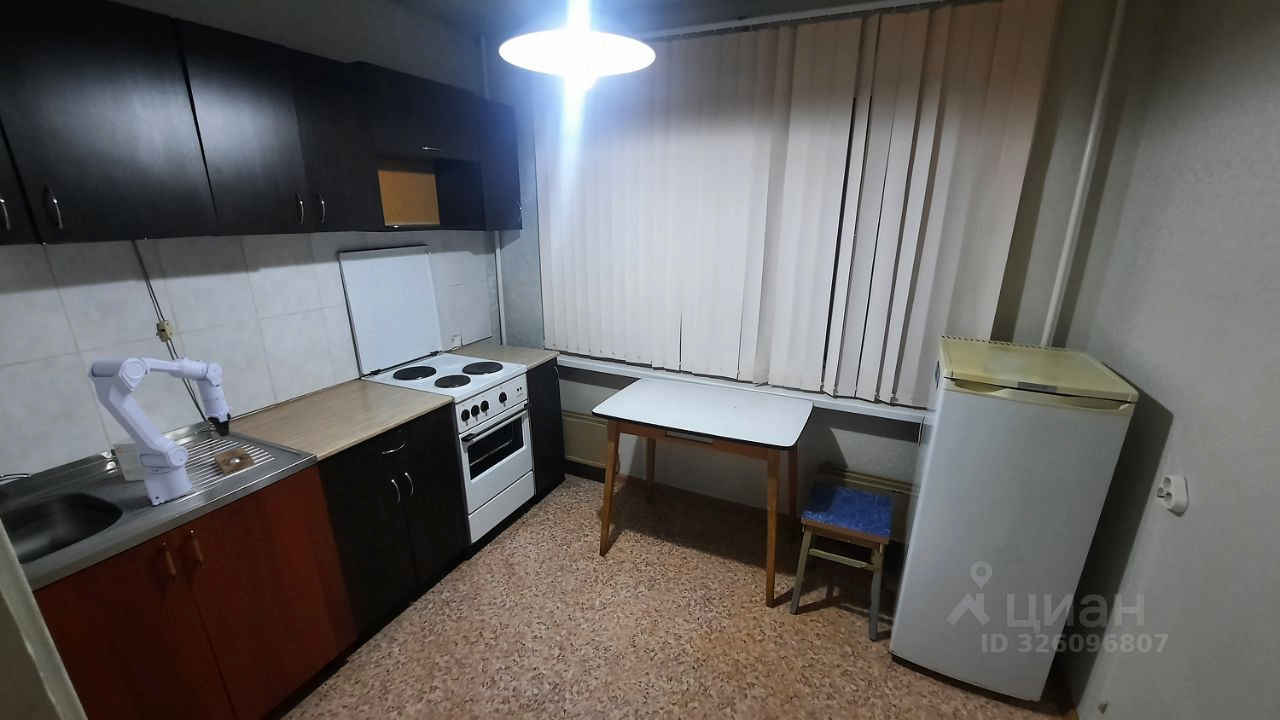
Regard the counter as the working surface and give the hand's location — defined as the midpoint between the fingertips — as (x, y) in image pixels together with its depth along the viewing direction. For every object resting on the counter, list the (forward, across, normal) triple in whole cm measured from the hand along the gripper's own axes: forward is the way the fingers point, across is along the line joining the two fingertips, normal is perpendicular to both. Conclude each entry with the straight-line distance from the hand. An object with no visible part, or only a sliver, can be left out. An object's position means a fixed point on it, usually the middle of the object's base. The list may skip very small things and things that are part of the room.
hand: (224, 435), depth 166 cm
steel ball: (+8, -7, 0) cm, 10 cm away
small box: (+10, +10, +20) cm, 24 cm away
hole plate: (+9, -4, 0) cm, 10 cm away
